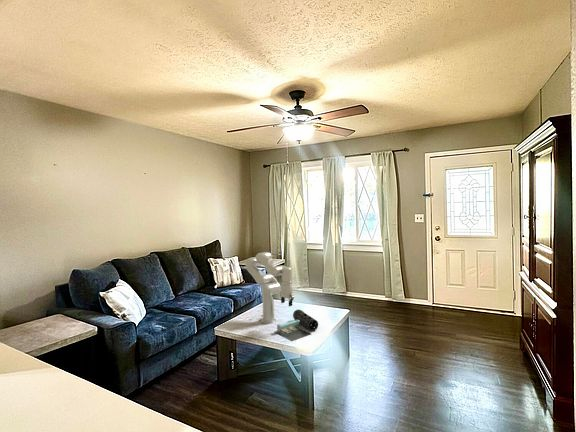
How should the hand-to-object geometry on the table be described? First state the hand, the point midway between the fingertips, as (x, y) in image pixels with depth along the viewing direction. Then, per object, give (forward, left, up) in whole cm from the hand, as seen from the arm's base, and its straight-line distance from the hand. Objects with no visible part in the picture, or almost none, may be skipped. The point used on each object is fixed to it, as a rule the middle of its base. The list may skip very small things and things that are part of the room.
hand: (286, 304), depth 248 cm
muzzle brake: (+6, +14, -20) cm, 25 cm away
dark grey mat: (+12, -4, -19) cm, 23 cm away
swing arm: (+5, -2, -18) cm, 18 cm away
